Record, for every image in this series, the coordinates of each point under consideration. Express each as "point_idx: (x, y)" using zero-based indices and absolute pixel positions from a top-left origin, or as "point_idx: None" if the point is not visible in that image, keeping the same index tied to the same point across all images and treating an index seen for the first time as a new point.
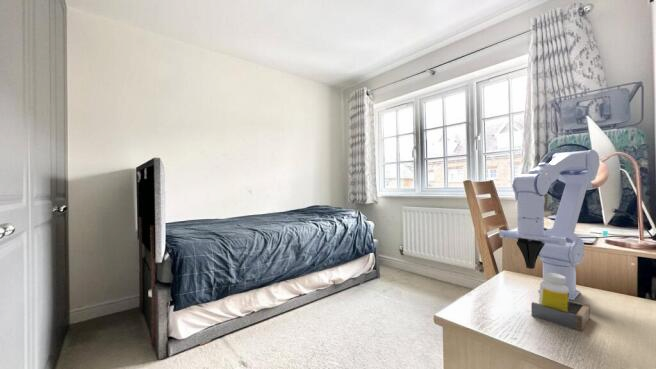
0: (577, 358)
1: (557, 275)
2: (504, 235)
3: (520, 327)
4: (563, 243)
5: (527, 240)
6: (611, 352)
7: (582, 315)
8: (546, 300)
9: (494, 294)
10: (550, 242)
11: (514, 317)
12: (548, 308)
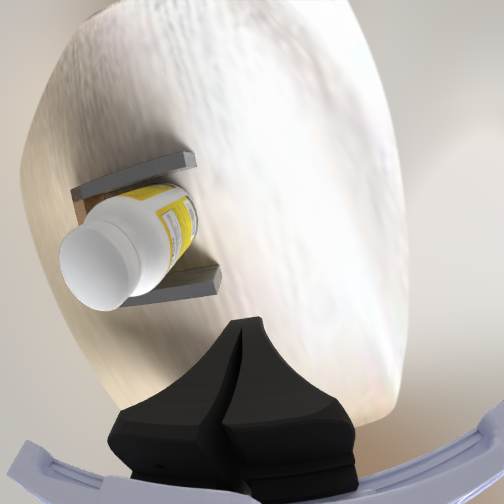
0: (66, 61)
1: (88, 283)
2: (483, 442)
3: (173, 53)
4: (20, 452)
5: (251, 493)
6: (43, 146)
7: (75, 208)
8: (143, 188)
9: (355, 218)
10: (86, 480)
11: (213, 90)
12: (135, 165)
